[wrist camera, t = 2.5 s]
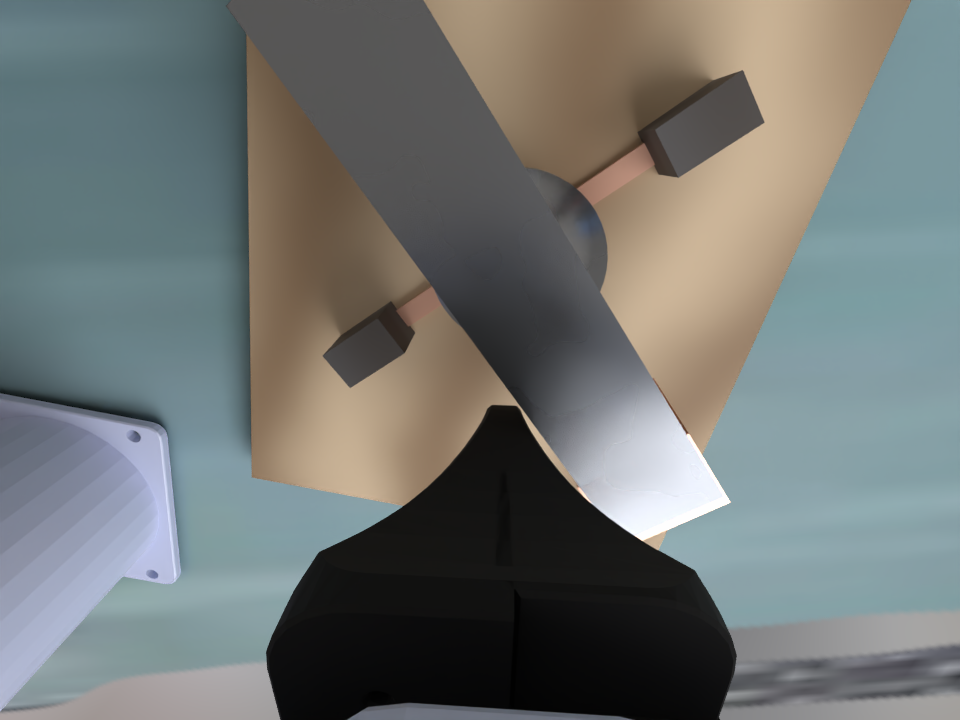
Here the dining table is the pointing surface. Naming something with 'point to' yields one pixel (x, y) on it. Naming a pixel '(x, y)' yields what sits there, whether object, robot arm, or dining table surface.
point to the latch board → (590, 169)
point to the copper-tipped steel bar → (490, 243)
